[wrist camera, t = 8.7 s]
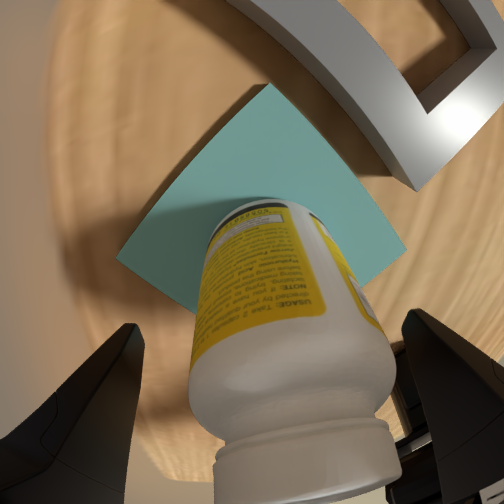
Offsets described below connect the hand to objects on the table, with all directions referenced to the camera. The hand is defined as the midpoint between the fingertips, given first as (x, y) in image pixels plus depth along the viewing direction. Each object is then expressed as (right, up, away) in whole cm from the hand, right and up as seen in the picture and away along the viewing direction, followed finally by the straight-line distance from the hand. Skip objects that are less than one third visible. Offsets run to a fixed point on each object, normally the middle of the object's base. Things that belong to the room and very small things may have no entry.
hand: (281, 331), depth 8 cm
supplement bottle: (0, +2, +4) cm, 5 cm away
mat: (0, +3, +4) cm, 5 cm away
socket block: (+5, +12, -1) cm, 14 cm away
